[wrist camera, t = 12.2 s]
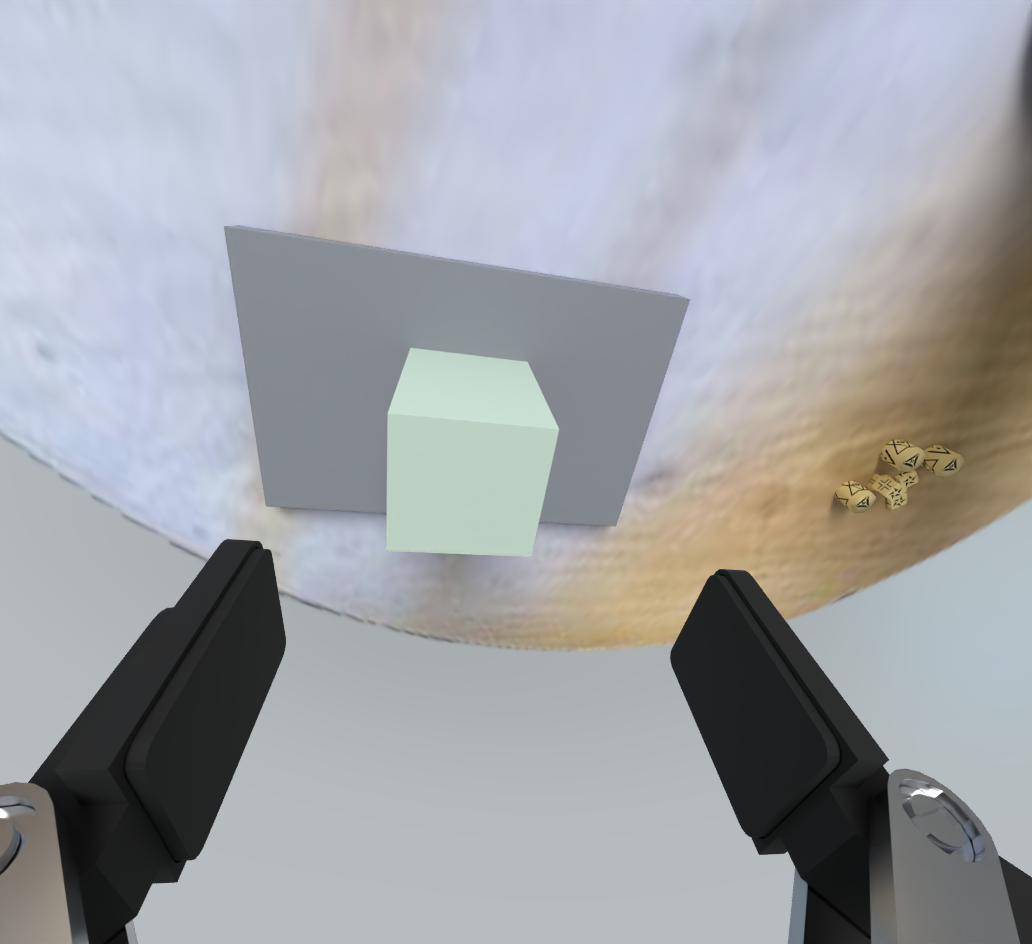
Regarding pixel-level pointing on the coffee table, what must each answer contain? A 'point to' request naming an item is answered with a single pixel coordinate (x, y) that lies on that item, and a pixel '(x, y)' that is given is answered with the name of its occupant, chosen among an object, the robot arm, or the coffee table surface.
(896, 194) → the coffee table surface
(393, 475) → the block
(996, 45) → the coffee table surface
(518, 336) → the pin plate
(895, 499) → the dice set
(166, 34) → the coffee table surface
